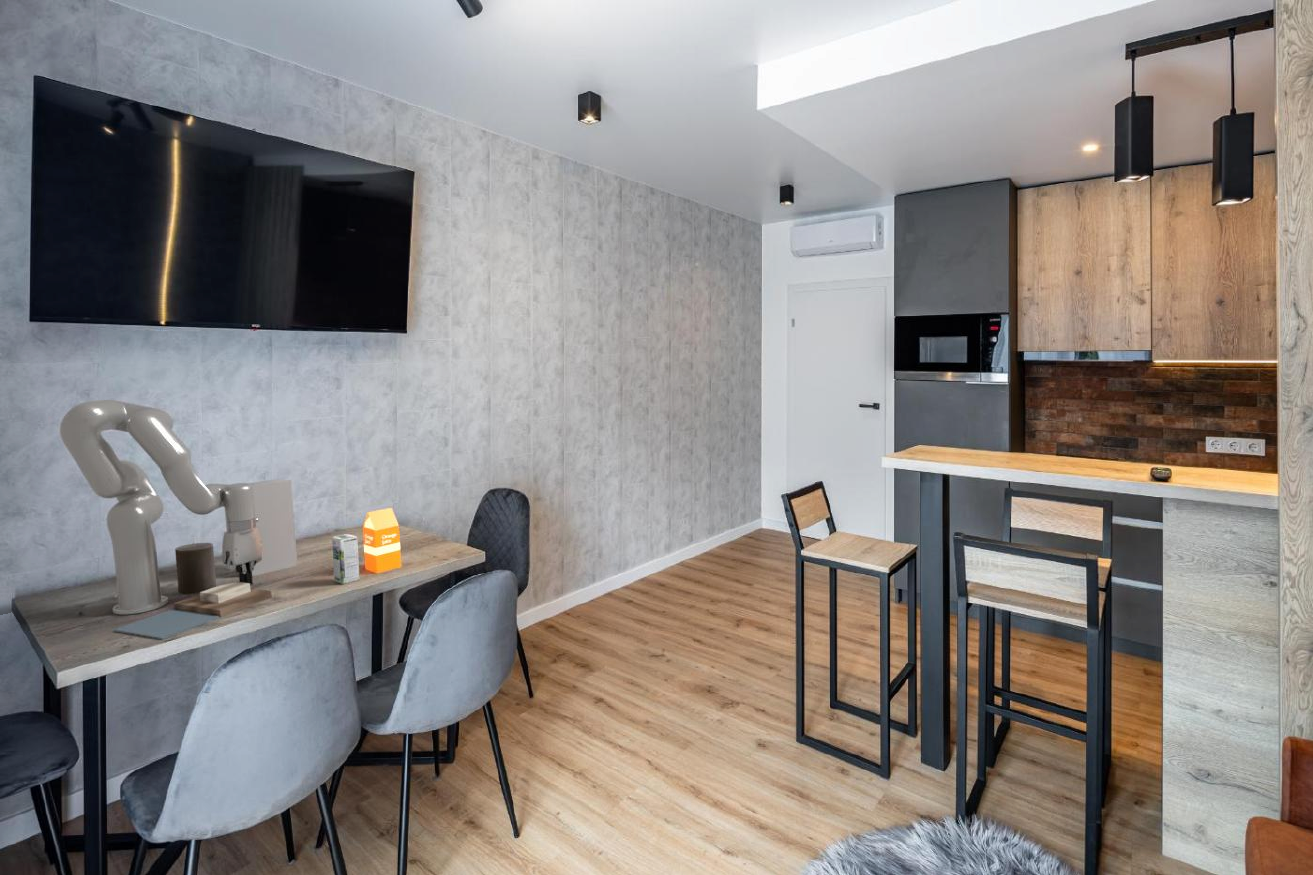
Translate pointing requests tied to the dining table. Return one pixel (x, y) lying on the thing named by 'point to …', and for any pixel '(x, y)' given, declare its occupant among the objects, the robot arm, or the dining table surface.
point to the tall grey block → (275, 525)
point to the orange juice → (381, 541)
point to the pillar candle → (195, 568)
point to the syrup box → (345, 558)
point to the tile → (225, 592)
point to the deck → (222, 603)
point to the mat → (166, 624)
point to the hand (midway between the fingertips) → (246, 584)
